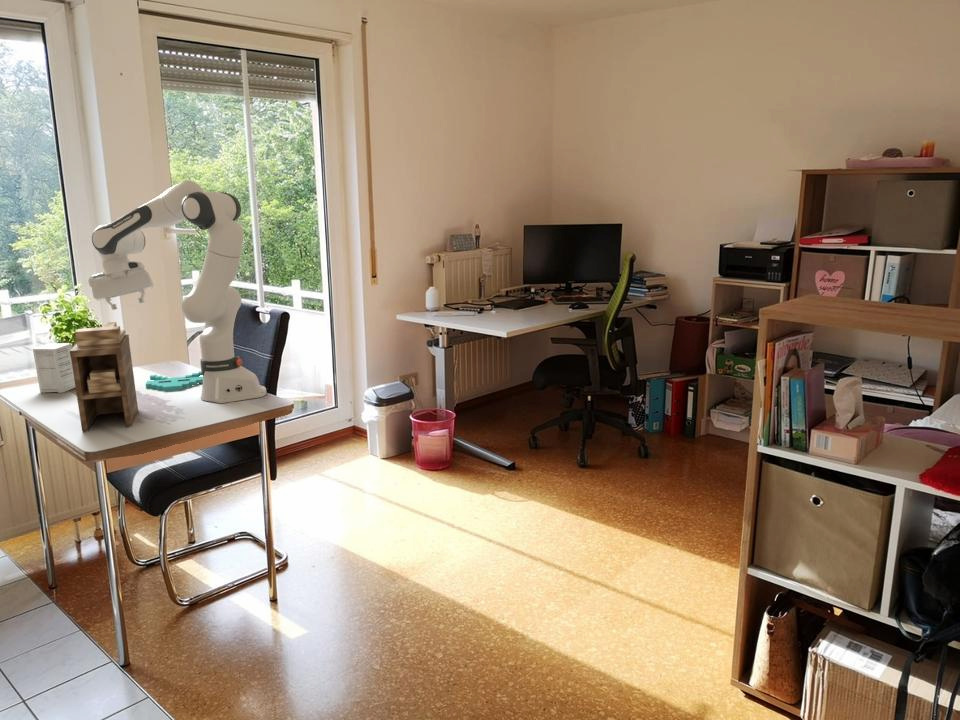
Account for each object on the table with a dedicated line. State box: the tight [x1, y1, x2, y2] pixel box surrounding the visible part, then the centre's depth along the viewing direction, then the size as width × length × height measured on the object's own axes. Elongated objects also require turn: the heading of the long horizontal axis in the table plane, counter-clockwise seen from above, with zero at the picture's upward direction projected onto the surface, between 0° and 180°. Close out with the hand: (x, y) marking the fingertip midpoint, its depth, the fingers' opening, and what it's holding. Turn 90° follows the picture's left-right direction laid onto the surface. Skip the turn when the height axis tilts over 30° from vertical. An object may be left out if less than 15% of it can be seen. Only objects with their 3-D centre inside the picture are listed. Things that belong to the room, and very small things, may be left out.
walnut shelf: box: [70, 334, 139, 433], centre depth 238 cm, size 14×20×26 cm
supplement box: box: [32, 342, 76, 394], centre depth 276 cm, size 10×9×17 cm
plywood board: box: [74, 321, 127, 346], centre depth 244 cm, size 12×28×4 cm, turn 18°
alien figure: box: [145, 370, 203, 392], centre depth 283 cm, size 20×2×20 cm
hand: (128, 306), depth 269 cm, fingers open, 8 cm apart
